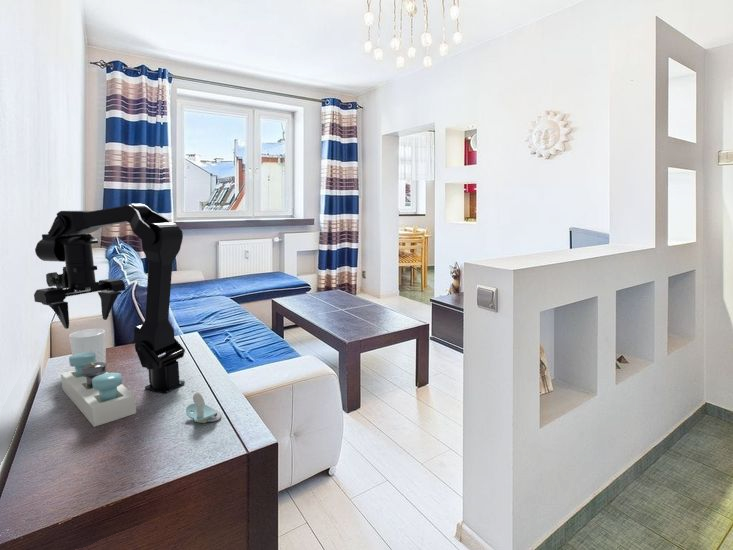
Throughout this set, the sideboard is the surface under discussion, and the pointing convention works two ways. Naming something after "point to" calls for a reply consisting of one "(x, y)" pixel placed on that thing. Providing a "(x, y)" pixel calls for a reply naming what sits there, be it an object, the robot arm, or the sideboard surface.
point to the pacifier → (201, 410)
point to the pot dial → (93, 371)
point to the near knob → (107, 385)
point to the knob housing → (97, 400)
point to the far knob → (81, 361)
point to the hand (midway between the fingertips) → (86, 323)
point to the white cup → (89, 343)
